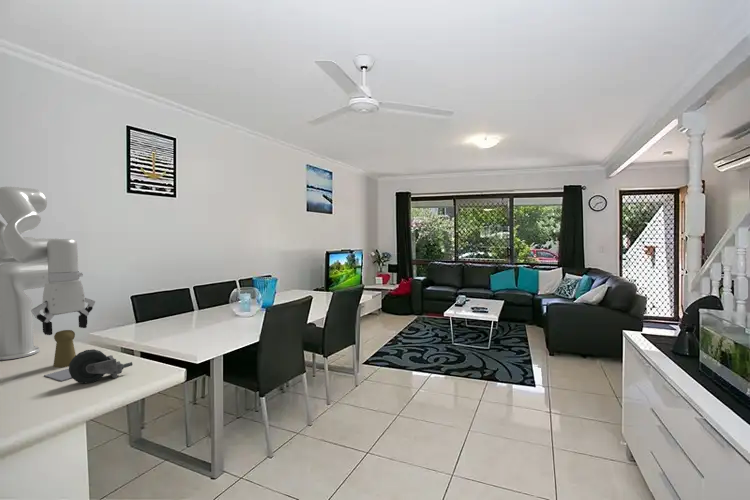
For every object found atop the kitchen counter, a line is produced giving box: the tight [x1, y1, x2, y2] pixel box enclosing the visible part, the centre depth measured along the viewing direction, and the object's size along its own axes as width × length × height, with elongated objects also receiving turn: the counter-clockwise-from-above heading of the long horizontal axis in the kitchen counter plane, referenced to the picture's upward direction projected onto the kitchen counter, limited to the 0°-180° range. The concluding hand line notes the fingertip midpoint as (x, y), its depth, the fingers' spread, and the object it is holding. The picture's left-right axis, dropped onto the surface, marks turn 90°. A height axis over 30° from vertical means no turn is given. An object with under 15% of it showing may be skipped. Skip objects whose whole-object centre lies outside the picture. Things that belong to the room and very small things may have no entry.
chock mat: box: [43, 368, 73, 382], centre depth 118 cm, size 9×11×1 cm
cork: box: [52, 329, 77, 369], centre depth 125 cm, size 6×6×11 cm
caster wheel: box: [68, 349, 133, 384], centre depth 113 cm, size 6×10×15 cm
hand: (66, 330), depth 124 cm, fingers open, 9 cm apart
